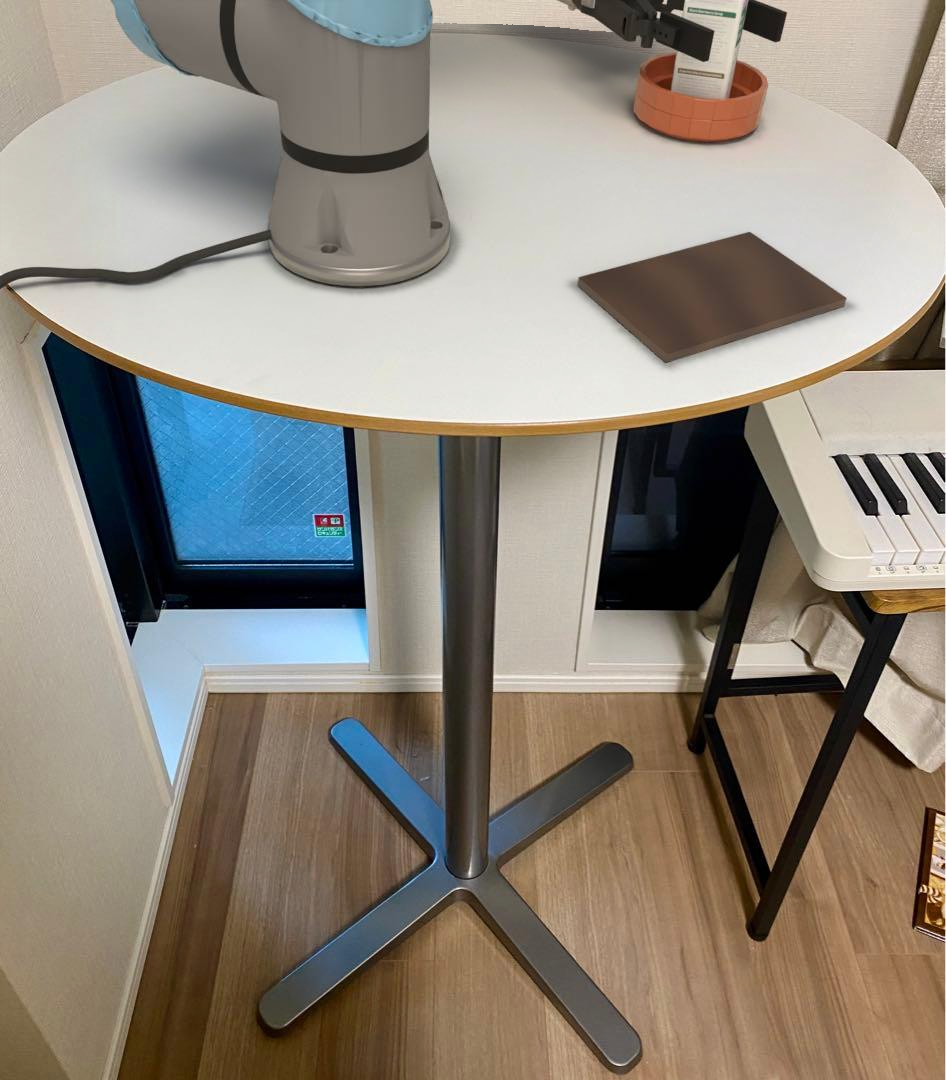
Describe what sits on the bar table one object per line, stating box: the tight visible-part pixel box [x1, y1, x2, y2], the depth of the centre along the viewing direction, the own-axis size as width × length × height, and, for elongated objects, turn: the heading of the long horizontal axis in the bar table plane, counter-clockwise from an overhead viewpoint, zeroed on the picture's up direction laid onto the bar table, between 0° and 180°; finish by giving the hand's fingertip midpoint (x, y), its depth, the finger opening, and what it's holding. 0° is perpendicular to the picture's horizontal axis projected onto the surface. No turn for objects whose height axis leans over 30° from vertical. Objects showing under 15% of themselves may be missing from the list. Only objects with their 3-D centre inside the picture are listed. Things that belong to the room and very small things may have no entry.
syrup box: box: [670, 0, 748, 99], centre depth 100 cm, size 6×6×14 cm
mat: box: [577, 231, 847, 363], centre depth 80 cm, size 18×12×1 cm, turn 119°
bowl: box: [633, 52, 769, 143], centre depth 104 cm, size 13×13×4 cm
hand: (745, 36), depth 97 cm, fingers open, 10 cm apart
